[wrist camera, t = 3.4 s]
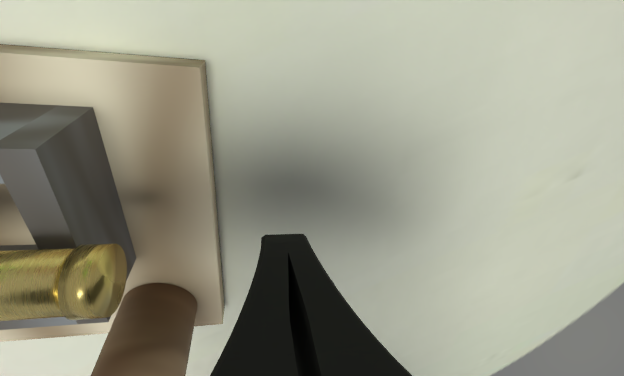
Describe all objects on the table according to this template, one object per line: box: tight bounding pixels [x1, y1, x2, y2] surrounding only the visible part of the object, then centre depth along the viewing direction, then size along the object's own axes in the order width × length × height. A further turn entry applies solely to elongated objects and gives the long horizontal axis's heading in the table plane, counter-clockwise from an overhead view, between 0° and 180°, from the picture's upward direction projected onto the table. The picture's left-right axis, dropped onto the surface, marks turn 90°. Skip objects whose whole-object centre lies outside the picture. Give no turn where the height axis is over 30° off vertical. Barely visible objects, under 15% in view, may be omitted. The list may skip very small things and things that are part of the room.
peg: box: [91, 283, 197, 376], centre depth 13 cm, size 4×4×6 cm
